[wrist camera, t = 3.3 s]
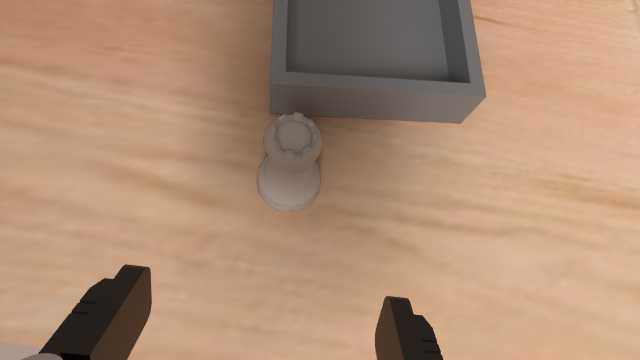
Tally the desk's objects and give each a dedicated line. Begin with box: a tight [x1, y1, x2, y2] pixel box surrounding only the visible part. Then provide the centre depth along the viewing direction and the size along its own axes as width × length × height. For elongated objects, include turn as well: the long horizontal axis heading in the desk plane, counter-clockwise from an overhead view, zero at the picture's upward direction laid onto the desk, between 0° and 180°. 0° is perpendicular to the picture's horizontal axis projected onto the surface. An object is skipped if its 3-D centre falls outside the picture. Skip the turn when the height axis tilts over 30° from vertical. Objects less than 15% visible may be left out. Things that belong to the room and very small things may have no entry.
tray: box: [270, 0, 486, 123], centre depth 31 cm, size 15×15×4 cm
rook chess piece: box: [257, 112, 323, 212], centre depth 24 cm, size 4×4×8 cm
